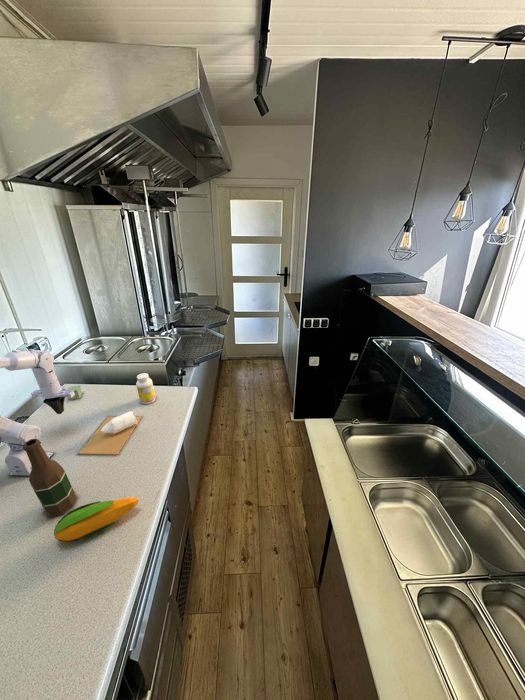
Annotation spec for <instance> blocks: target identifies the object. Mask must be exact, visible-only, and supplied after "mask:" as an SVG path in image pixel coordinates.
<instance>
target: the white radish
mask: <svg viewBox="0 0 525 700" xmlns="http://www.w3.org/2000/svg"><path fill="white" fill-rule="evenodd" d="M114 417H115V418H113V419H112V420H111V421H110V422H109V423H108V424H106V425H105V426H104V427H103V428H102V429H101V432H103V433H118V432H120V431H122V430H124V429H126V428H129V427H131V426H133V425H135V424H137V421H136V418H135V417H136V415H135V414H134V412H133V411H132V410H131V411H127V412H125V413H123V414H120V415H118V416H114ZM137 425H138V424H137Z"/></svg>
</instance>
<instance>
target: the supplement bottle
mask: <svg viewBox="0 0 525 700" xmlns="http://www.w3.org/2000/svg"><path fill="white" fill-rule="evenodd" d="M136 380H137V381H136V383H135V386H136V390H137V395H138V398H139V402H140V403H141V404H143V405H148V404H151V403H153V402H154V401H155V400H156V397H157V396H156V393H155V388H154V383H153V380H152V378H150V376H149V373H147V372H142V373H139V374H137V376H136Z"/></svg>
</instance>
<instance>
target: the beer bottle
mask: <svg viewBox="0 0 525 700" xmlns="http://www.w3.org/2000/svg"><path fill="white" fill-rule="evenodd" d="M41 445H42V441H41V440H40V439H39V440H38V439H37V438H36V439H31V440H29V441H27V442H25V443H24V445H23V449H24V450H25V451H26V453H27V455H28V458H29V460H30V463H31V466H32V470H31V473H30V475H28V481H29V484H30V486H31V488H32V490H33V491H34V493H35V495H36V498H37V499H38V501H39V503H40V504H41V506H42V508H43V510H44V511H45V512H46V514H48V515H49V517H55V516H60V515H63V514H64V513H66V512H67V511H69V510H70V509H71V508H72V507H73V506H74V503H75V501H76V499H77V495H76V493H75V490H74V488H73V486H72V483H71V481H70V479H69V477H68V474H67V473H66V471H65V468H64V467H63V466H62V465H60V464H59V463H58V462H57V461H56V460H55V459H51V458H48V456H47V454H46V453H45V452H46V451H45V449H44V447H43V445H42V446H41ZM42 447H43V448H42Z"/></svg>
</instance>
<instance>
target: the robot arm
mask: <svg viewBox="0 0 525 700" xmlns="http://www.w3.org/2000/svg"><path fill="white" fill-rule="evenodd" d="M54 360H55V356H54V354H52V353H51V352H49V351H48V350H39V349H28V350H25V351H24V350H22V351H20V350H19V349H12V350H11V351H10V352H6V353H5V354H4V355H3V356H0V369H5V370H7V371H10V372H12V371H13V372H14V371H20V370H27V369H28V370H29V369H31V371H32V373H33V375H34V378H35V381H36V382H37V385H38V388H39V389H36V390H33V391H32V392H31V393H30V394H31V397H32V398H33V399H34V398H35V399H36V398H42V399H43V401H42V402H43V404H45V405H47V406H48V407H50V409H52V410H53V411H54V412H55V413H56V414H57V415H62V413H64V412H65V398H68V397H69V398H72V397H73V396H74V395H75V393H74V391H71V390H67V389H68V388H67V389H66V388H63V386H62V385H60V381H59V379H58V377H57V373H56V371H55V366H54V362H55V361H54ZM41 434H42V432H41V428H40V427H39V426H38V425H29V424H26V423H22V422H18V421H15V420H12V419H10V418H8V417H6V416H3V415H1V414H0V442H1V443H4V444H7V446H8V447H9V452H8V454H7V455H6V457H5V458H4V462H5V464H6V466H7V467H8V469H9V471H10V473H9V475H10V476H29V475H30V473H31V470H32V466H31V463H30V460H29V458H28V455H27V453H26V451H25V450H24V449H23V445H24V443H25V442H27V441H29V440H31V439H36V438H37V439H38V440H39V441H40V438H41ZM41 446H42V448H43V449H44V447H43V445H42V444H41ZM45 453H46V454H47V456H48V458H49V459H51V457H52V455H54V452H51V451H49V452H48V451H45Z"/></svg>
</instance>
